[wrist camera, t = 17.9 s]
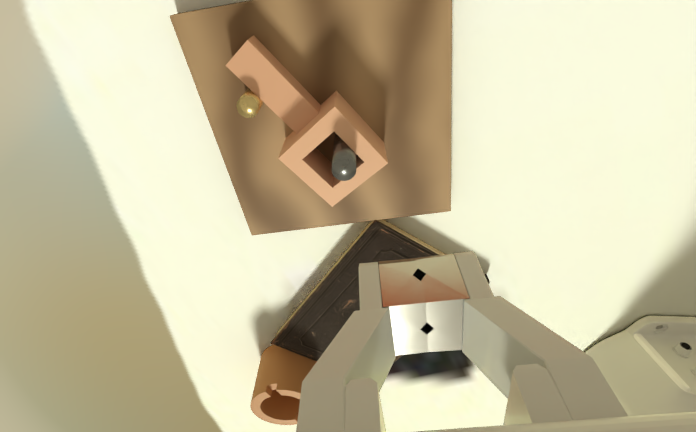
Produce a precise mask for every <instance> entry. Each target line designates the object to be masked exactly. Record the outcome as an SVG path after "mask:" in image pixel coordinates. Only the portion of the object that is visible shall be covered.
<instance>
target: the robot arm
mask: <svg viewBox="0 0 696 432" xmlns="http://www.w3.org/2000/svg"><path fill="white" fill-rule="evenodd" d="M378 263H379V265H378ZM359 297H360V310H358V311H354V312H353V313H352V315H351V316H350V317H349V319H348V320H347V322H346V323H345V324H344V326H343V327H342V328H341V330H340V331H339V332H338V334H337V335H336V336H335V338H334V339H333V341H332V342H331V343H330V345H329V346H328V347H327V349H326V350H325V351H324V353H323V354H322V356H321V357H320V358H319V360H318V361H317V362H316V364H315V365H314V366H313V368H312V369H311V370H310V372H309V373H308V375H307V376H306V377H305V379H304V380H303V381H302V387H301V396H300V404H299V413H298V421H297V430H296V432H386V428H385V423H384V417H383V412H382V406H381V401H380V395H379V392H380V389H381V387H382V385H383V383H384V381H385V379H386V377H387V375H388V373H389V370H390V368H391V366H392V364H393V362H394V360H395V356H397V355H406V354H414V353H423V352H435V351H450V350H462V352H463V353H464V354H465V355H466V356H467V357H468V358H469V359H470V360H471V361H472V362H473V363H474V364H475V365H476V366H477V367H478V368H479V369H480V370H481V371H482V372H483V374H484V375H485V376H486V377H487V378H488V379H489V380H490V381H491V382H492V383H493V384H494V385H495V386H496V387H497V388H498V389H499V390H500V391H501V392H502V393H503V394H504V395H505V396H506V397H507V398H508V402H507V407H506V413H505V419H504V424H503V425H500V426H486V427H473V428H459V429H445V430H431V431H418V432H696V317H681V316H646V317H643V318H641V319H639V320H638V321H636V322H635V323H633V324H632V325H631V326H629V327H628V328H627V329H626V330H624V331H622V332H620V333H617V334H615V335H613V336H611V337H608V338H606V339H604V340H602V341H601V342H599V343H597V344H596V345H594V346H593V347H591V348H590V349H589V350H588V351H587V352H583V351H582V350H580V349H579V348H577V347H576V346H574V345H573V344H571V343H570V342H568V341H567V340H565V339H564V338H562V337H561V336H559V335H558V334H556V333H555V332H553V331H552V330H550V329H549V328H547V327H546V326H544V325H543V324H541V323H540V322H538V321H537V320H535V319H534V318H532V317H531V316H529V315H528V314H526V313H525V312H523V311H522V310H520V309H519V308H517V307H516V306H514V305H513V304H511V303H510V302H508V301H507V300H505V299H504V298H502V297H501V296H496V297H494V295H493V293H492V291H491V288H490V286H489V284H488V282H487V279H486V277H485V275H484V273H483V270H482V268H481V266H480V264H479V261H478V259H477V257H476V254H475V253H474V252H473V251H467V252H460V253H453V254H446V255H438V256H429V257H421V258H412V259H401V260H390V261H379V262H372V263H360V264H359Z"/></svg>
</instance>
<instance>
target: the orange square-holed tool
mask: <svg viewBox="0 0 696 432" xmlns="http://www.w3.org/2000/svg"><path fill="white" fill-rule="evenodd" d="M225 66H226V67H227V68H229V69H230V70H231V71H232V72H233V73H234V74H235V75H236V76H237V77H238V78H239V79H240V80H241V81H242V82H243V83H244V84H245V85H246V86H247V87H248V88H249V89H250V90H251V91H252V92H254V93H255V94H256V95H257V96H258V97H259V98H260V99H261V100H262V101H263V102H264V103H265V104H266V105H267V106H268V107H269V108H270V109H271V110H272V111H273V112H274V113H275V114H276V115H277V116H279V117H280V118H281V119H282V120H283V121H284V122H285V123H286V124H287V125H288V126H289V127H290V128H291V129H292V130H293V132H292V133H291V134H290V135H289V136H287V137H286V139H285V141H284V144H283V147H282V150H281V152H280V155H279V158H278V159H279V160H280V161H281V162H283V163H284V164H285V165H286V166H287V167H288V168H289V169H290V170H291V171H293V172H294V173H295V174H296V175H297V176H298V177H299V178H300V179H302V180H303V181H304V182H305V183H306V184H307V185H308V186H309V187H310V188H312V189H313V190H314V191H315V192H316V193H317V194H318V195H319V196H320V197H322V198H323V199H324V200H325V201H326V202H327V203H328V204H329V205H331V206H332V207H333V206H334V205H335V204H337V203H338V202H339V201H340V200H342V199H343V198H344V197H346V196H347V195H348V194H349V193H351V192H352V191H353V190H355V189H356V188H357V187H358V186H360V185H361V184H362V183H363V182H365V181H366V180H367V179H369V178H370V177H371V176H372V175H374V174H375V173H376V172H378V171H379V170H380V169H381V168H383V167H384V166H385V165H387V164H388V160H387V155H386V150H385V145H384V142H383V141H382V140H381V139H380V138H379V136H378V135H377V134H376V133H375V132H374V131H373V130H372V129H371V128H370V127H369V126H368V124H367V123H366V122H365V121H364V120H363V119H362V118H361V117H360V116H359V115H358V113H357V112H356V111H355V110H354V109H353V108H352V107H351V106H350V105H349V104H348V103H347V101H346V100H345V99H344V98H343V97H342V96H341V95H340V94H339V93H338V92H337V91H335V92H334V93H333V94H332V95H331V96H330V97H329V98H328V99H327V100H326V101H325V102H323V103H322V104H321V105H320V104H319V103H318V102H317V101H316V100H315V99H314V98H313V96H312V95H311V94H310V93H309V92H308V91H307V90H306V89H305V88H304V87H303V86H302V85H301V84H300V83H299V82H298V81H297V80H296V79H295V78H294V77H293V76H292V75H291V74H290V72H289V71H288V70H287V69H286V68H285V67H284V66H283V65H282V64H281V63H280V62H279V61H278V60H277V59H276V58H275V57H274V56H273V55H272V54H271V53H270V52H269V51H268V50H267V48H266V47H265V46H264V45H263V44H262V43H261V42H260V41H259V40H258V39H257V38H256V37H255V36H254V35H253V36H252V37H251V38H249V39H248V40H247V41H246V42H245V43H244V45H243V46H242V47H241V48H240V49H239V50H238V51H237V53H236V54H235V55H234V56H233V57H232V58H231V60H230V61H229V62H228V63H227V64H226V65H225ZM333 132H335V133H336V134H337V135H338V136H339V137H340V138H341V139H342V140H343V141H344V142H345V143H346V144H347V145H348V146H349V147H350V148H351V149H352V150H353V151H354V152H355V153H356V174H355V176H354V177H353V178H352V179H350V180H347V181H341V180H338V179H336V178H335V177H334V176H333V174H332V163H331V162H330V161H329V160H328V159H327V158H326V157H325V156H324V155H323V154H322V153H321V152H320V151H319V150H318V149H317V148H316V147H317V146H318V145H319V144H320V143H321V142H323V141H324V140H325V139H326V138H327V137H328V136H329V135H330V134H332V133H333Z"/></svg>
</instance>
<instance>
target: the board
mask: <svg viewBox="0 0 696 432" xmlns="http://www.w3.org/2000/svg"><path fill="white" fill-rule="evenodd" d="M170 19H171V21H172V24H173V27H174V29H175V32H176V35H177V37H178V40H179V43H180V45H181V48H182V51H183V53H184V56H185V58H186V61H187V64H188V66H189V69H190V72H191V74H192V77H193V80H194V82H195V85H196V88H197V90H198V93H199V96H200V98H201V101H202V104H203V106H204V109H205V112H206V114H207V117H208V120H209V122H210V125H211V128H212V130H213V133H214V136H215V138H216V141H217V144H218V146H219V149H220V152H221V154H222V157H223V160H224V162H225V165H226V168H227V170H228V173H229V176H230V178H231V181H232V184H233V186H234V189H235V192H236V194H237V197H238V200H239V202H240V205H241V208H242V210H243V213H244V216H245V218H246V221H247V223H248V226H249V229H250V231H251V234H252V235H258V234H267V233H275V232H283V231H291V230H299V229H308V228H316V227H324V226H332V225H340V224H349V223H357V222H365V221H373V220H381V219H389V218H398V217H406V216H414V215H422V214H430V213H439V212H447V211H451V56H452V0H250V1H244V2H239V3H233V4H228V5H222V6H217V7H211V8H206V9H200V10H194V11H189V12H183V13H178V14H174V15H171V16H170ZM253 35H254V36H255V37H256V38H257V39H258V40H259V41H260V42H261V43H262V44H263V45H264V46H265V47H266V48H267V50H268V51H269V52H270V53H271V54H272V55H273V56H274V57H275V58H276V59H277V60H278V61H279V62H280V63H281V64H282V65H283V66H284V67H285V68H286V69H287V70H288V71H289V72H290V74H291V75H292V76H293V77H294V78H295V79H296V80H297V81H298V82H299V83H300V84H301V85H302V86H303V87H304V88H305V89H306V90H307V91H308V92H309V93H310V94H311V95H312V96H313V98H314V99H315V100H316V101H317V102H318V103H319V104H320V105H321V104H322V103H323V102H325V101H326V100H327V99H328V98H329V97H330V96H331V95H332V94H333V93H334V92H335V91H337V92H338V93H339V94H340V95H341V96H342V97H343V98H344V99H345V100H346V101H347V103H348V104H349V105H350V106H351V107H352V108H353V109H354V110H355V111H356V112H357V113H358V115H359V116H360V117H361V118H362V119H363V120H364V121H365V122H366V123H367V124H368V126H369V127H370V128H371V129H372V130H373V131H374V132H375V133H376V134H377V135H378V136H379V138H380V139H381V140H382V141H383V142H384V145H385V150H386V155H387V160H388V164H387V165H385V166H384V167H383V168H381V169H380V170H379V171H378V172H376V173H375V174H374V175H372V176H371V177H370V178H369V179H367V180H366V181H365V182H363V183H362V184H361V185H360V186H358V187H357V188H356V189H355V190H353V191H352V192H351V193H349V194H348V195H347V196H346V197H344V198H343V199H342V200H340V201H339V202H338V203H337V204H335V205H334V206H333V207H332V206H331V205H329V204H328V203H327V202H326V201H325V200H324V199H323V198H322V197H320V196H319V195H318V194H317V193H316V192H315V191H314V190H313V189H312V188H310V187H309V186H308V185H307V184H306V183H305V182H304V181H303V180H302V179H300V178H299V177H298V176H297V175H296V174H295V173H294V172H293V171H291V170H290V169H289V168H288V167H287V166H286V165H285V164H284V163H283V162H281V161H280V160H279V159H278V158H279V155H280V152H281V150H282V147H283V144H284V141H285V139H286V137H287V136H289V135H290V134H291V133H292V132H293V130H292V129H291V128H290V127H289V126H288V125H287V124H286V123H285V122H284V121H283V120H282V119H281V118H280V117H279V116H277V115H276V114H275V113H274V112H273V111H272V110H271V109H270V108H269V107H268V106H267V105H266V104H265V103H263V105H262V107H261V108H260V110H259V112H258V113H257V115H256V116H255V117H253V118H245V117H243V116H242V115H240V113H239V112H238V110H237V107H236V105H237V101H238V100H239V99H240V97H241V96H242V95H243V94H244V92H245V91H246V90H247V89H248V87H247V86H246V85H245V84H244V83H243V82H242V81H241V80H240V79H239V78H238V77H237V76H236V75H235V74H234V73H233V72H232V71H231V70H230V69H229V68H227V67H226V66H225V65H226V64H227V63H228V62H229V61H230V60H231V58H232V57H233V56H234V55H235V54H236V53H237V51H238V50H239V49H240V48H241V47H242V46H243V45H244V43H245V42H246V41H247V40H248V39H249V38H251V37H252V36H253ZM334 136H335V132H333V133H332V134H330V135H329V136H328V137H327V138H326V139H325V140H324V141H323V142H321V143H320V144H319V145H318V146H317V147H316V148H317V149H318V150H319V151H320V152H321V153H322V154H323V155H324V156H325V157H326V158H327V159H328V160H329V161H330V162H331V163H332V158H333V146H334Z"/></svg>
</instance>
